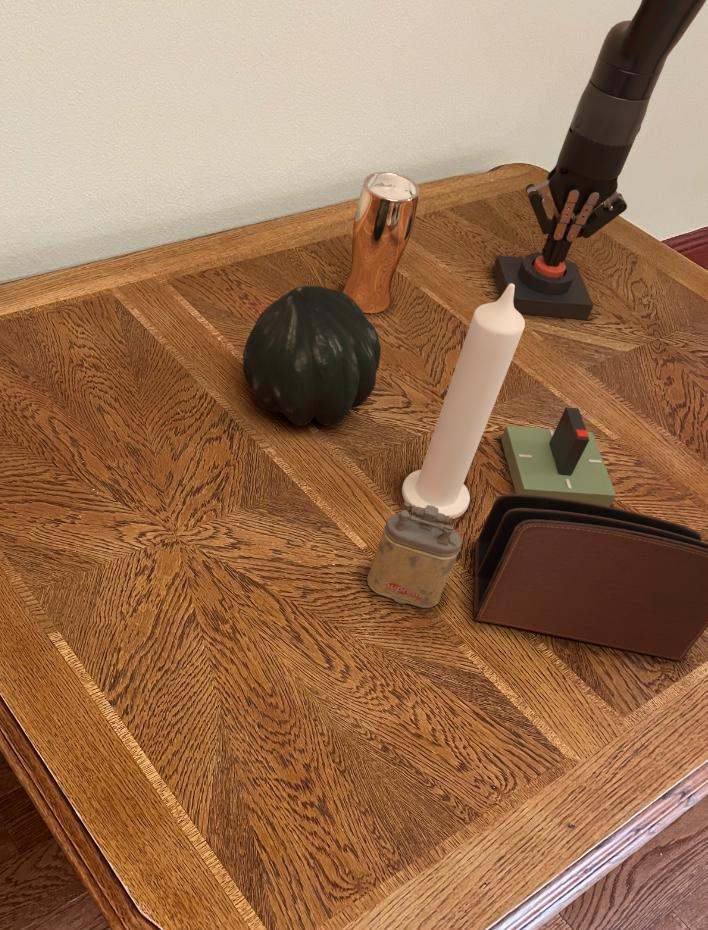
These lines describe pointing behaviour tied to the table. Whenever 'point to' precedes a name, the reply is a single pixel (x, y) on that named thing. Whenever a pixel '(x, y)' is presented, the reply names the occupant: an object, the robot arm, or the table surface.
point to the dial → (569, 441)
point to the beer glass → (380, 237)
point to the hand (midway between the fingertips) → (550, 262)
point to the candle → (467, 407)
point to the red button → (548, 268)
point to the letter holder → (592, 575)
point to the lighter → (414, 556)
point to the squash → (312, 356)
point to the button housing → (543, 288)
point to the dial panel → (554, 468)
